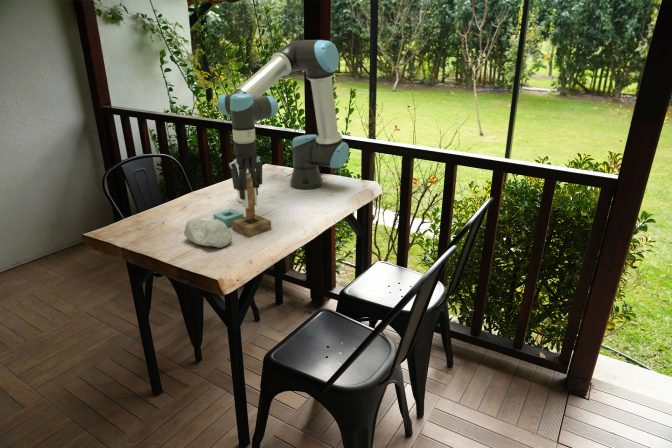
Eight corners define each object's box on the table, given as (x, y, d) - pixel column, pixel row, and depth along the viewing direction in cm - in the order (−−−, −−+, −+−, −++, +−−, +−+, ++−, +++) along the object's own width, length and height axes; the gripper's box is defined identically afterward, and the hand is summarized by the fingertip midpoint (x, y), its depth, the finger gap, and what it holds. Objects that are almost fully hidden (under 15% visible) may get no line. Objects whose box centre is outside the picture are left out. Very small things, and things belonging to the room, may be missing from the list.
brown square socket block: (255, 222, 178) (254, 213, 176) (271, 229, 171) (270, 220, 170) (232, 229, 171) (231, 221, 170) (248, 237, 165) (248, 228, 163)
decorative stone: (239, 233, 162) (224, 216, 154) (226, 257, 157) (210, 241, 150) (202, 227, 170) (187, 211, 163) (189, 250, 165) (172, 235, 158)
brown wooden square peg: (251, 214, 171) (248, 171, 165) (256, 216, 169) (253, 173, 163) (244, 216, 169) (240, 173, 163) (249, 218, 167) (246, 175, 161)
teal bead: (232, 217, 183) (231, 208, 182) (244, 222, 178) (243, 213, 176) (214, 222, 178) (213, 214, 176) (225, 228, 173) (225, 219, 171)
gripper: (230, 146, 151) (236, 214, 160) (270, 139, 162) (274, 203, 170) (217, 143, 156) (224, 209, 165) (257, 136, 166) (261, 198, 175)
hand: (249, 205), depth 168 cm, fingers closed on brown wooden square peg, 3 cm apart
